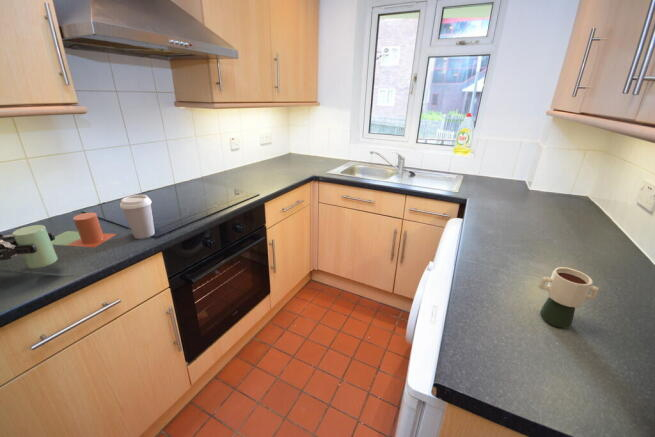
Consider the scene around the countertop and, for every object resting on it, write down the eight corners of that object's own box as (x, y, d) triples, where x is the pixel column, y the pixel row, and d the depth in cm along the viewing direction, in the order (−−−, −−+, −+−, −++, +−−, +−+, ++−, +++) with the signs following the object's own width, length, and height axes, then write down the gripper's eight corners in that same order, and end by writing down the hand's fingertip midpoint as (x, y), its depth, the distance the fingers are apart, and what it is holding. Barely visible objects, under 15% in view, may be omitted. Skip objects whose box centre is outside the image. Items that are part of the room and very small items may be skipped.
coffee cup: (165, 233, 111) (156, 195, 105) (143, 245, 103) (132, 204, 97) (146, 229, 114) (137, 192, 108) (123, 240, 106) (111, 200, 100)
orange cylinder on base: (94, 244, 101) (85, 220, 97) (76, 243, 102) (67, 219, 98) (108, 235, 107) (101, 213, 103) (92, 234, 107) (84, 212, 104)
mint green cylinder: (42, 269, 80) (27, 235, 76) (20, 267, 80) (5, 234, 76) (63, 256, 85) (51, 225, 81) (43, 255, 86) (30, 224, 82)
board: (95, 249, 100) (94, 247, 99) (41, 246, 101) (40, 243, 101) (117, 236, 109) (116, 234, 108) (67, 233, 110) (66, 230, 110)
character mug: (576, 316, 73) (596, 272, 68) (587, 337, 67) (610, 290, 62) (525, 305, 77) (540, 262, 72) (531, 323, 71) (548, 278, 66)
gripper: (-63, 247, 70) (18, 242, 73) (-10, 222, 83) (57, 219, 86) (-47, 273, 73) (30, 268, 76) (2, 246, 86) (66, 242, 89)
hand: (44, 242), depth 81 cm, fingers closed on mint green cylinder, 6 cm apart
